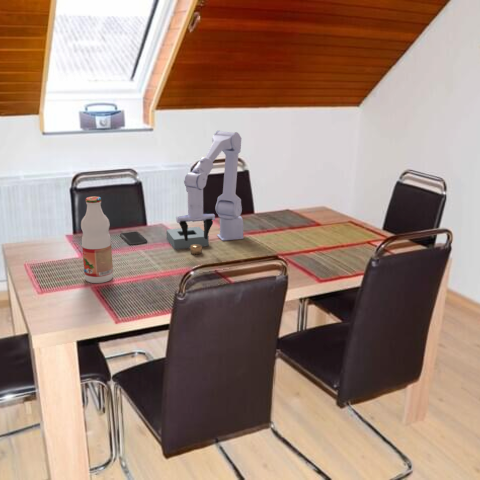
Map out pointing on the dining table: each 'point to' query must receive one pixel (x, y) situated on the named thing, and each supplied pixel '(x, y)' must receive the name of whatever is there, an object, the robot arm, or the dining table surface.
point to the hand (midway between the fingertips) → (195, 239)
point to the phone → (133, 238)
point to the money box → (194, 237)
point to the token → (196, 249)
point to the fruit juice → (96, 243)
